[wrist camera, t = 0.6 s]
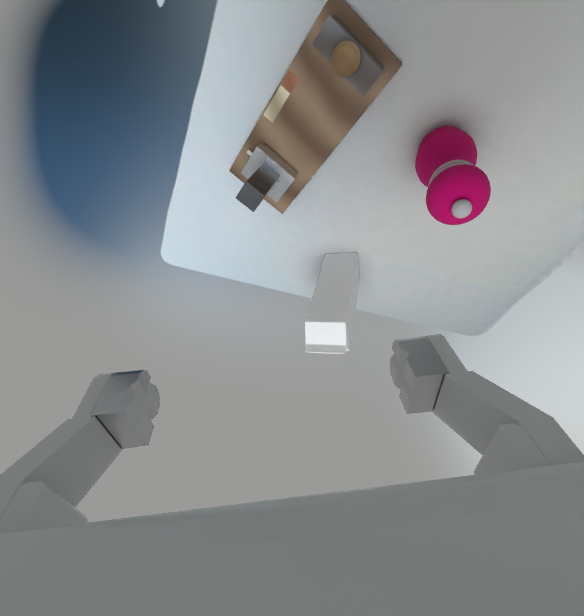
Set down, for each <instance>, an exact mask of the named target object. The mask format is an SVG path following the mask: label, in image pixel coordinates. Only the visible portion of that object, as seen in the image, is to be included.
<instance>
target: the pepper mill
mask: <svg viewBox="0 0 584 616" xmlns="http://www.w3.org/2000/svg"><path fill="white" fill-rule="evenodd" d="M476 160H477V149H476V146H475V143H474V141H473V139H472V138H471V137H470V136H469V135H468V134H467V133H465V132H463V131H461V130H459V129H458V128H456V127H452V126H444V127H440V128H437V129H435V130H433V131H431V132H430V133H429V134H428V135H427V136H426V137H425V138H424V139H423V141H422V143H421V144H420V147H419V150H418V154H417V157H416V163H415V167H416V172H417V175H418V177H419V179H420V181H421V182H422V183H423V184H424V185H425V186H427V187H428V189H427V195H426V204H427V208H428V210H429V212H430V214H431V215H432V216H433V217H434V218H435V219H436V220H437V221H439V222H441V223H444V224H448V225H458V224H463V223H466V222H469V221H471V220H473V219H474V218H476V217H477V216H478V215H479V214H480V213H481V212H482V211H483V210H484V208H485V207H486V205H487V203H488V201H489V198H490V191H491V188H490V182H489V180H488V178H487V176H486V174H485V173H484V172H483V171H482V170H480V169H479V168H478V167H475V164H476Z"/></svg>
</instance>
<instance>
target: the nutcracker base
mask: <svg viewBox="0 0 584 616" xmlns="http://www.w3.org/2000/svg"><path fill="white" fill-rule="evenodd" d="M401 65H402V63H401V62H400V61H399V60H398V59H397V58H396V56H395V55H394V54H393V53H392V52H391V51H390V50H389V49H388V48H387V47H386V45H385V44H384V43H383V42H382V41H381V40H380V39H379V38H378V37H377V36H376V35H375V33H374V32H373V31H372V30H371V29H370V28H369V27H368V26H367V25H366V24H365V23H364V21H363V20H362V19H361V18H360V17H359V16H358V15H357V14H356V13H355V12H354V11H353V9H352V8H351V7H350V6H349V5H348V4H347V3H346V2H345V1H344V0H328V1H327V3H326V5H325V6H324V8H323V10H322V11H321V13H320V15H319V17H318V18H317V20H316V22H315V24H314V25H313V27H312V29H311V31H310V32H309V34H308V36H307V37H306V39H305V41H304V43H303V44H302V46H301V48H300V50H299V51H298V53H297V55H296V56H295V58H294V60H293V62H292V63H291V65H290V67H289V69H288V70H287V72H286V74H285V75H284V77H283V79H282V81H281V82H280V84H279V86H278V88H277V89H276V91H275V93H274V94H273V96H272V98H271V100H270V101H269V103H268V105H267V107H266V108H265V110H264V112H263V114H262V115H261V117H260V119H259V120H258V122H257V124H256V126H255V127H254V129H253V131H252V133H251V134H250V136H249V138H248V139H247V141H246V143H245V145H244V146H243V148H242V150H241V152H240V153H239V155H238V157H237V158H236V160H235V162H234V164H233V165H232V167H231V169H230V172H231V173H232V174H234V175H235V176H236V177H237V178H239V179H240V180H241V181H242V182H244V183H245V182H246V181H247V180H248V179H247V178H246V177H245V176H243V175H242V174H241V172H242V170H243V168H244V167H245V165H246V164H247V162H248V160H249V159H250V157H251V156H250V155H248V154H247V153H246V152H247V150H248V149H250V150H251V151H252V152H254V150H255V149H256V147H257V146H258V145H259V144H260V143H261V142H263V143H264V144H266V145H267V146H268V147H269V148H270V149H271V150H272V151H274V152H275V153H276V154H277V155H278V156H279V157H281V158H282V159H283V160H284V161H285V162H286V163H287V164H289V165H290V166H291V167H292V168H293V169H294V170H296V171H297V172H298V175H297V176H296V178H295V179H294V181H293V182H292V183H291V185H290V186H289V187H288V189H287V190H286V191H285V192H284V194H283V195H282V196H281V198H280V199H279V200H278V202H277V203H276V202H275V201H274V200H273V199H271V198H270V197H269V196H268V195H266V196H265V197H264V199H265V200H266V201H267V202H268V203H269V204H271V205H272V206H273V207H274V208H276V209H277V210H278V211H279V212H281V213H282V214H283V213H284V211H285V210H286V209H287V208H288V206H289V205H290V204H291V203H292V201H293V200H294V199H295V198H296V196H297V195H298V194H299V193H300V191H301V190H302V189H303V188H304V186H305V185H306V184H307V183H308V181H309V180H310V179H311V178H312V176H313V175H314V174H315V173H316V171H317V170H318V169H319V168H320V166H321V165H322V164H323V163H324V161H325V160H326V159H327V158H328V156H329V155H330V154H331V153H332V151H333V150H334V149H335V148H336V146H337V145H338V144H339V143H340V141H341V140H342V139H343V138H344V136H345V135H346V134H347V133H348V132H349V130H350V129H351V128H352V127H353V125H354V124H355V123H356V122H357V120H358V119H359V118H360V117H361V115H362V114H363V113H364V112H365V110H366V109H367V108H368V107H369V105H370V104H371V103H372V102H373V100H374V99H375V98H376V97H377V95H378V94H379V93H380V92H381V90H382V89H383V88H384V87H385V85H386V84H387V83H388V82H389V80H390V79H391V78H392V77H393V75H394V74H395V73H396V72H397V70H398V69H399V68H400V67H401Z"/></svg>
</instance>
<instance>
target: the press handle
mask: <svg viewBox="0 0 584 616" xmlns="http://www.w3.org/2000/svg"><path fill="white" fill-rule="evenodd" d="M246 153H247V154H248V155H250V156H251V157H250V159H249V160H248V162H247V164H246V165H245V167H244V168H243V170H242V172H241V174H242V175H243V176H245V177H246V178H247V179H248V180H247V181H246V182H245V184H244V185H243V187H242V189H241V190H240V192H239V193H238V195H237V196H236V199H238V200H239V201H240V202H241V203H243V204H244V205H245V206H246V207H248V208H249V209H250V210H252V211H253V212H254V211H255V209H256V208H257V207H258V205H259V204H260V203H261V201H262V200H263V199H264V197H265V196H266V195H268V196H269V197H270V198H271V199H273V200H274V201H275V202H276V203H277V202H278V200H279V199H280V198H281V196H282V195H283V194H284V192H285V191H286V190H287V189H288V187H289V186H290V185H291V183H292V182H293V181H294V179H295V178H296V176H297V175H298V172H297V171H296V170H294V169H293V168H292V167H291V166H290V165H289V164H287V163H286V162H285V161H284V160H283V159H282V158H281V157H279V156H278V155H277V154H276V153H275V152H274V151H272V150H271V149H270V148H269V147H268V146H267V145H266V144H264V143H263V142H261V143H260V144H259V145H258V146H257V147H256V149H255V150H254V152H252V151H251V150H250V149H248V150H247V152H246Z"/></svg>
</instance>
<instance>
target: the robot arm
mask: <svg viewBox="0 0 584 616" xmlns="http://www.w3.org/2000/svg"><path fill="white" fill-rule="evenodd" d="M392 349H393V351H394V355H393V356H392V357H391V360H390V370H391V376H392V379H393V381H394V384H395V386H397V387H398V388H400V389H401V391H400V399H401V401H402V403H403V406H404V408H405V410H406V413H407V414H409V413H420V412H430V411H433V413H434V414H435V415H437V416H438V417H439V418H440V419H441V420H442V421H443V422H445V423H446V424H447V425H448V426H449V427H450V428H452V429H453V430H454V431H455V432H456V433H457V434H459V435H460V436H461V437H462V438H463V439H464V440H466V441H467V442H468V443H469V444H470V445H471V446H472V447H473V448H475V449H476V450H477V451H478V452H479V453H481V454H482V455H483V456H482V458H481V460H480V462H479V463H478V465H477V467H476V469H475V471H474V474H475V475H470V476H462V477H455V478H447V479H438V480H430V481H422V482H414V483H406V484H397V485H389V486H382V487H374V488H365V489H357V490H348V491H341V492H332V493H324V494H317V495H308V496H300V497H291V498H283V499H276V500H267V501H259V502H252V503H243V504H235V505H227V506H219V507H211V508H204V509H203V508H202V509H194V510H187V511H179V512H170V513H162V514H154V515H146V516H138V517H130V518H122V519H114V520H106V521H97V522H89V523H87V521H88V520H87V517H86V516H85V515H84V514H83V513H81V512H80V511H79V510H78V509H76V508H75V507H76V506H77V505H78V503H79V502H80V501H81V500H82V498H83V497H84V496H85V495H86V494H87V492H88V491H89V490H90V489H91V488H92V486H93V485H94V484H95V483H96V482H97V480H98V479H99V478H100V477H101V475H102V474H103V473H104V472H105V471H106V469H107V468H108V467H109V465H110V464H111V463H112V462H113V461H114V460H115V458H116V457H117V456H118V455H119V454H120V452H121V451H122V449H124V448H131V447H138V446H145V445H149V441H150V438H151V434H152V431H153V428H154V425H153V423H152V421H151V420H152V419H153V418H154V417H155V416H156V415H157V414H158V410H159V405H160V396H159V392H158V389H157V387H156V386H155V385H153V384H152V383H150V382H149V381H150V378H151V376H150V375H149V373H148V371H146V370H138V371H128V372H117V373H110V374H99V375H97V376H95V377H94V378H93V380H92V382H91V384H90V386H89V387H88V390H87V391H86V393H85V395H84V397H83V399H82V401H81V403H80V405H79V407H78V409H77V411H76V412H75V415H74V416H73V418H72V419H68V420H66V421H65V422H64V423H63V424H61V425H60V426H59V427H58V428H56V429H55V430H54V431H53V432H52V433H50V434H49V435H48V436H47V437H46V438H44V439H43V440H42V441H41V442H39V443H38V444H37V445H36V446H35V447H34V448H32V449H31V450H30V451H29V452H27V453H26V454H25V455H24V456H23V457H21V459H19V460H18V461H17V462H15V463H14V464H13V465H12V466H11V467H9V468H8V469H7V470H6V471H5V472H3V473H2V474H1V475H0V616H584V455H583V454H582V453H581V451H580V450H579V449H578V448H577V447H576V445H575V444H574V443H573V442H572V440H571V439H570V438H569V437H568V435H567V434H566V433H565V432H564V430H563V429H562V428H561V427H560V426H559V424H558V423H557V422H556V421H555V420H554V418H553V417H551V416H549V415H547V414H546V413H544V412H542V411H541V410H539V409H537V408H536V407H534V406H532V405H530V404H528V403H527V402H525V401H523V400H521V399H520V398H518V397H516V396H515V395H513V394H511V393H509V392H508V391H506V390H504V389H502V388H501V387H499V386H497V385H496V384H494V383H492V382H490V381H489V380H487V379H485V378H483V377H482V376H480V375H478V374H477V373H475V372H473V371H467V370H466V369H465V367H464V365H463V364H462V363H461V361H460V360H459V358H458V357H457V355H456V354H455V352H454V351H453V349H452V348H451V346H450V345H449V343H448V342H447V340H446V339H445V337H444V336H442V335H441V334H438V335H430V336H425V337H424V336H421V337H414V338H407V339H398V340H395V341H394V342H393V346H392Z"/></svg>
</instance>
